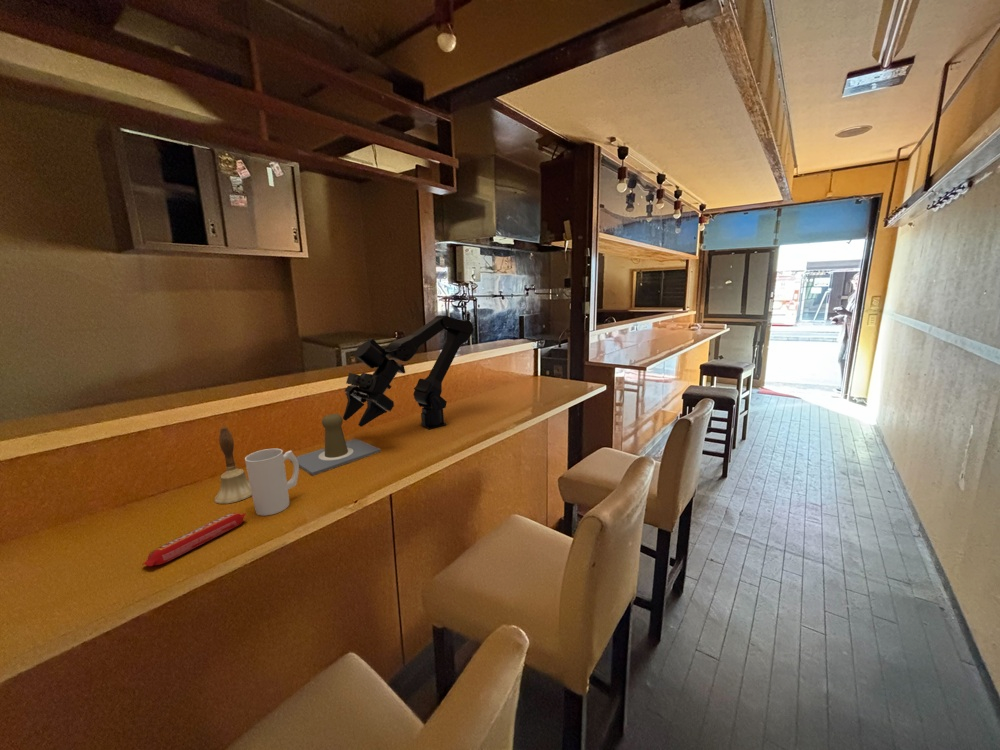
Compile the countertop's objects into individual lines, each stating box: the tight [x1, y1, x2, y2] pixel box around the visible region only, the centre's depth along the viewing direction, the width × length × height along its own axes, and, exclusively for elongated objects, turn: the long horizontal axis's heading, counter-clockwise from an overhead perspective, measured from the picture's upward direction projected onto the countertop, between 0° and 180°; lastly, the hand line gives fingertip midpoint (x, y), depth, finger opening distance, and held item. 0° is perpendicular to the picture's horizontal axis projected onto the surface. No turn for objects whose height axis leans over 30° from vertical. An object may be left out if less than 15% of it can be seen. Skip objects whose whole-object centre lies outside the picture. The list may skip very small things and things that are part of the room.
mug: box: [244, 447, 300, 517], centre depth 84 cm, size 10×7×12 cm, turn 147°
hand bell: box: [213, 426, 252, 505], centre depth 89 cm, size 8×8×16 cm
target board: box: [289, 438, 381, 476], centre depth 110 cm, size 19×14×1 cm
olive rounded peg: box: [321, 413, 348, 458], centre depth 109 cm, size 6×6×11 cm
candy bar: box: [142, 512, 247, 567], centre depth 73 cm, size 16×4×3 cm, turn 153°
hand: (351, 422), depth 113 cm, fingers open, 9 cm apart
